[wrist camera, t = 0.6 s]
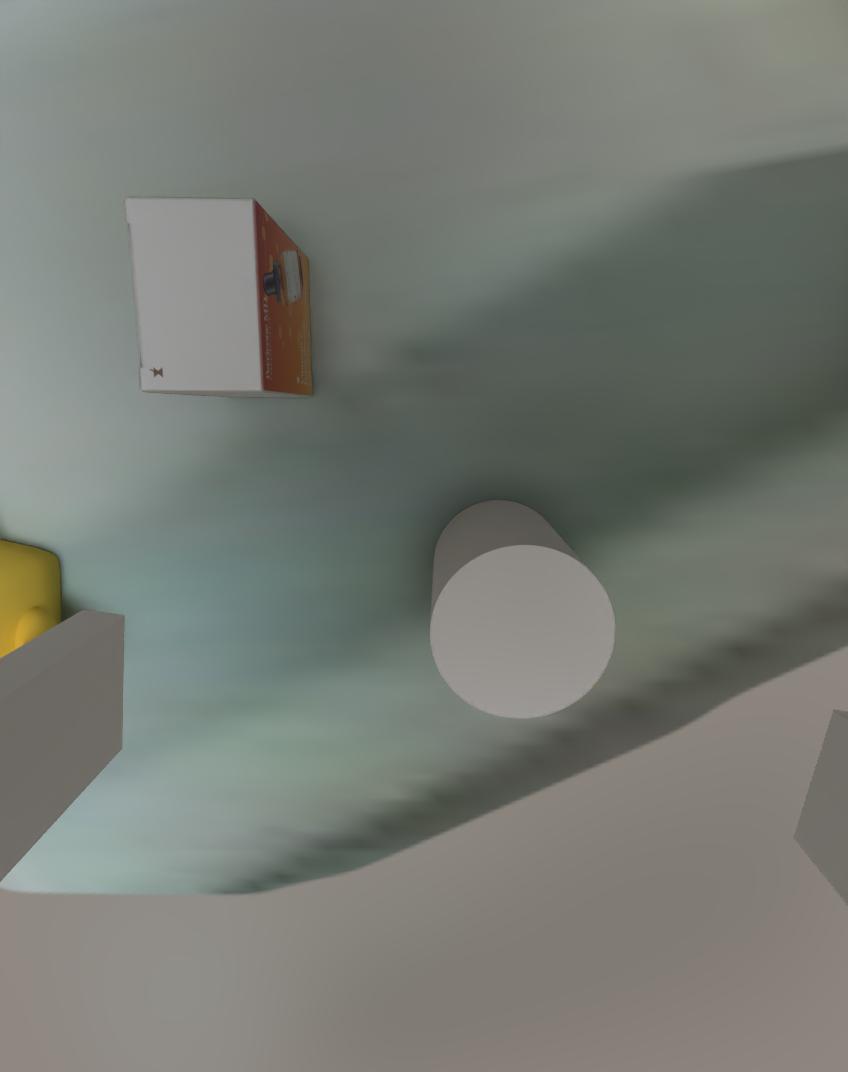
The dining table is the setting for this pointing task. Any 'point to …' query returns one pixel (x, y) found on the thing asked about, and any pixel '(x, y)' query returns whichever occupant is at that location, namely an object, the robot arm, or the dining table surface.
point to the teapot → (27, 594)
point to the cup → (516, 613)
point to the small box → (218, 299)
